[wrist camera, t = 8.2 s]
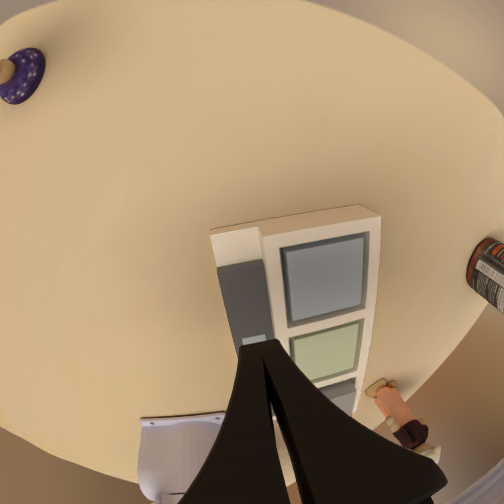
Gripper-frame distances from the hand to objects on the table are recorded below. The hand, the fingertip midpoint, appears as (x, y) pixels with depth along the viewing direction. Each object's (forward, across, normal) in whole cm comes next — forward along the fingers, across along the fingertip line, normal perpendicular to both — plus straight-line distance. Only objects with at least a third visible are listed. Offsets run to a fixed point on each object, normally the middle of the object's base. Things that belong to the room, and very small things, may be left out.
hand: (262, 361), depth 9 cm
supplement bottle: (+10, -25, +6) cm, 27 cm away
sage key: (+8, -5, +8) cm, 12 cm away
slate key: (+8, -5, +1) cm, 10 cm away
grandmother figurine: (+10, -14, +20) cm, 26 cm away
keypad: (+9, -4, +8) cm, 13 cm away
